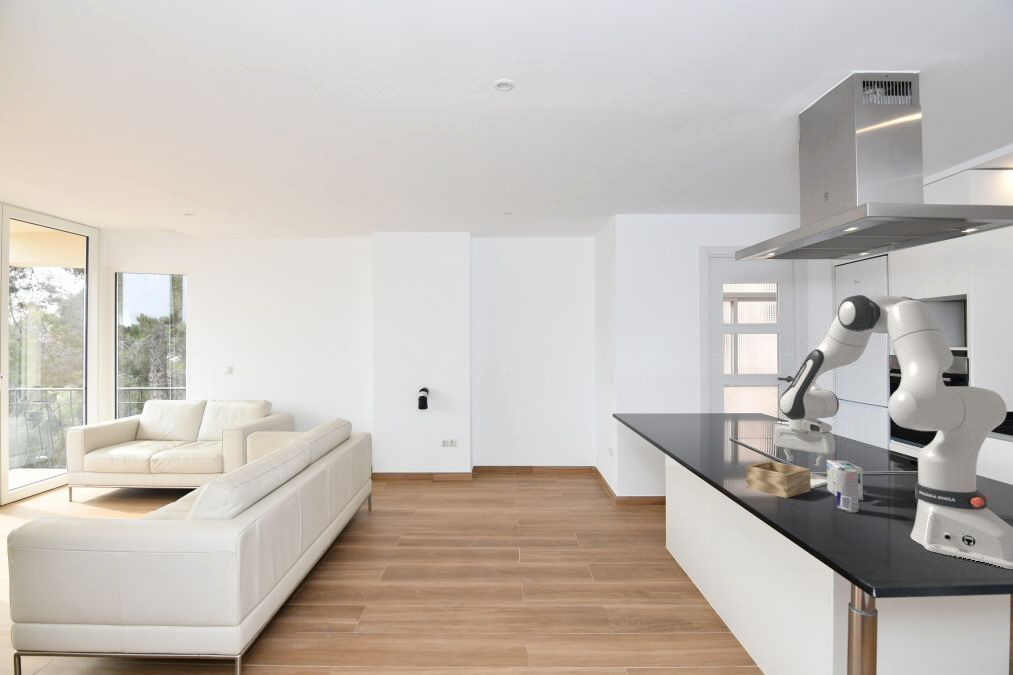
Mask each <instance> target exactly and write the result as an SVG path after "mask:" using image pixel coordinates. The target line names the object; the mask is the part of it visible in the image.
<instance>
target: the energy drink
mask: <svg viewBox="0 0 1013 675" xmlns="http://www.w3.org/2000/svg"><path fill="white" fill-rule="evenodd" d="M836 507H837V508H838V509H842V512H844V513H849V514H850V513H851V514H856V513H858V512H859V500H858V472H857V470H855V469H850V468H838V470H837V496H836Z"/></svg>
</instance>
